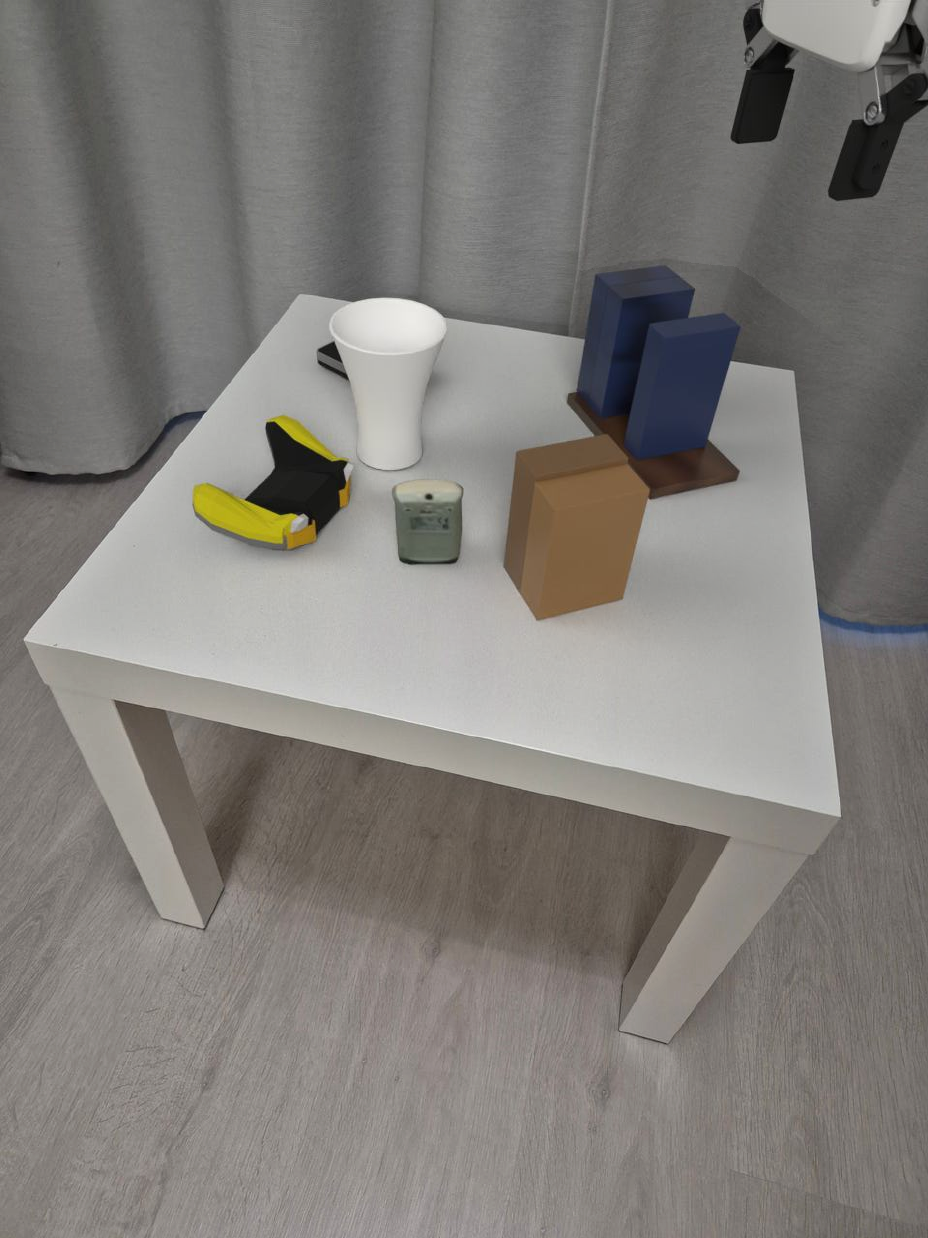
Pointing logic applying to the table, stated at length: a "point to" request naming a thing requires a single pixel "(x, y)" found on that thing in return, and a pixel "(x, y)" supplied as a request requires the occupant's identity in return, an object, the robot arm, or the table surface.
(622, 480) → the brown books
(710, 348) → the navy book
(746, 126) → the robot arm
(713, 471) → the blue bookends on base
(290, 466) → the gaming controller
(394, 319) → the cup
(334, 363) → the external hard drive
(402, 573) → the table surface
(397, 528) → the grey-green rounded box
